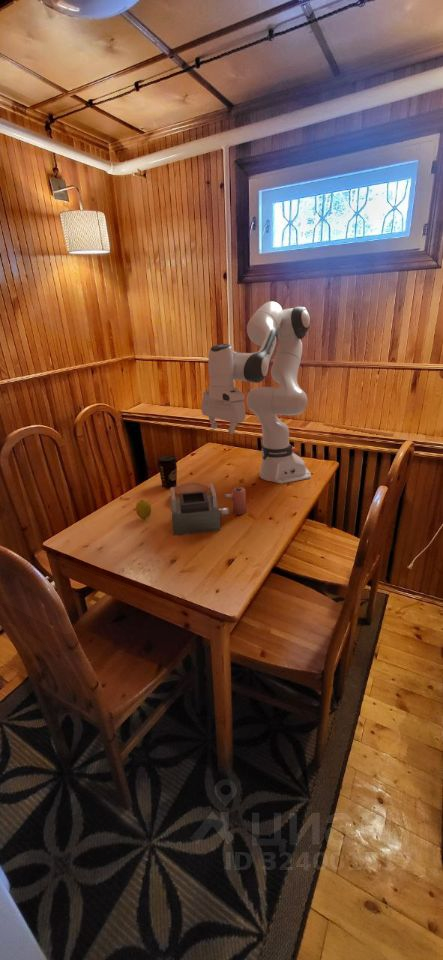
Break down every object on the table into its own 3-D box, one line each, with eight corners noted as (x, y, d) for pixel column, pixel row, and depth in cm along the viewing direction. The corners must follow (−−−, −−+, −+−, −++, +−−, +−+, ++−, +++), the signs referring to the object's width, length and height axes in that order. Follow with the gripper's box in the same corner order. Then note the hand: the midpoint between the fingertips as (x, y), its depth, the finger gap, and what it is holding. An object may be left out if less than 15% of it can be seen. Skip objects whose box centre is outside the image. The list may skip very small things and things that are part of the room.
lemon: (155, 516, 152) (152, 497, 149) (147, 523, 147) (145, 503, 144) (141, 514, 154) (139, 495, 150) (134, 521, 149) (131, 502, 146)
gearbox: (226, 513, 152) (224, 481, 147) (231, 529, 141) (230, 495, 136) (172, 518, 150) (169, 486, 145) (173, 535, 139) (170, 501, 134)
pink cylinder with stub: (244, 508, 155) (243, 485, 151) (247, 514, 151) (246, 490, 147) (224, 510, 154) (223, 487, 150) (227, 516, 150) (226, 492, 146)
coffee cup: (181, 482, 180) (179, 454, 175) (177, 490, 173) (175, 461, 168) (162, 482, 181) (159, 454, 176) (157, 489, 174) (154, 461, 169)
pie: (163, 500, 164) (162, 489, 162) (191, 487, 174) (191, 477, 172) (190, 512, 154) (189, 500, 152) (218, 497, 165) (217, 486, 163)
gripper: (196, 390, 150) (198, 427, 155) (234, 397, 136) (235, 437, 141) (209, 388, 154) (211, 424, 159) (248, 395, 139) (248, 434, 145)
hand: (222, 430), depth 150 cm, fingers open, 8 cm apart
